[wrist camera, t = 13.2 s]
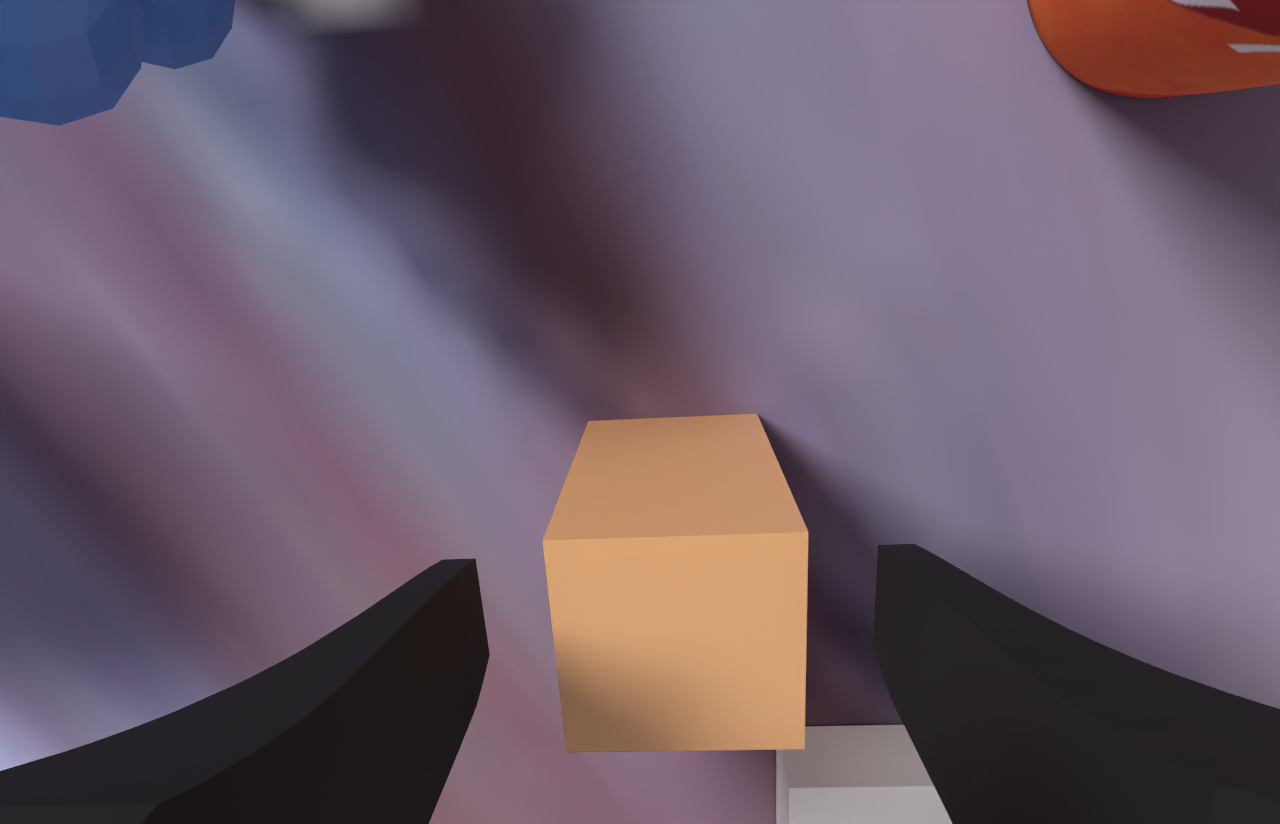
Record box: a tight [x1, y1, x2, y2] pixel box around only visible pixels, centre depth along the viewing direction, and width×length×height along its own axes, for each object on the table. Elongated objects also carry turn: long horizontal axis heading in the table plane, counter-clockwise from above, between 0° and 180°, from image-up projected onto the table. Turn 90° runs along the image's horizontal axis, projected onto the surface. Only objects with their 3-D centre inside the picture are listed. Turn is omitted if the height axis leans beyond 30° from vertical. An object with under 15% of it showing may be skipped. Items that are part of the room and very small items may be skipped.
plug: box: [543, 414, 808, 752], centre depth 13 cm, size 4×4×6 cm
